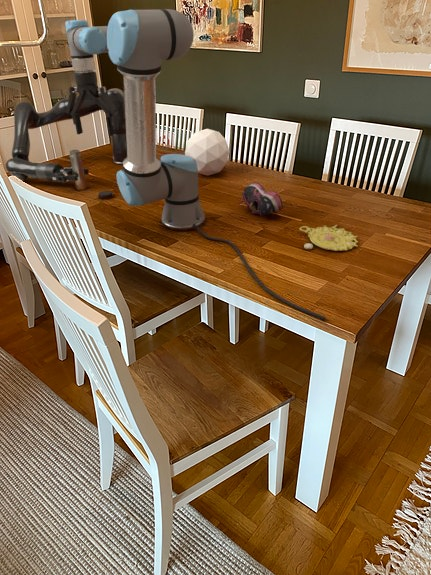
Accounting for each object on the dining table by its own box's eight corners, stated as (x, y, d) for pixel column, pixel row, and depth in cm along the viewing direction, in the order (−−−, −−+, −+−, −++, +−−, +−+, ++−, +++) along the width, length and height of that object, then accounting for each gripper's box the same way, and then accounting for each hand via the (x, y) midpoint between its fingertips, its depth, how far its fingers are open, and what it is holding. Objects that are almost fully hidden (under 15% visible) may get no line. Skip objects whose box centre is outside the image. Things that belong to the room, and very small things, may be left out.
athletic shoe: (254, 181, 170) (227, 189, 167) (283, 176, 151) (253, 185, 147) (260, 210, 173) (234, 218, 170) (290, 209, 154) (261, 219, 150)
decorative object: (343, 255, 128) (285, 234, 139) (342, 262, 130) (284, 241, 140) (372, 230, 142) (317, 213, 152) (371, 237, 143) (316, 219, 153)
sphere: (213, 191, 200) (211, 164, 181) (179, 169, 205) (173, 141, 186) (238, 162, 205) (238, 133, 186) (203, 141, 209) (200, 111, 191)
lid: (110, 193, 182) (109, 189, 181) (113, 197, 178) (113, 193, 177) (97, 196, 180) (96, 192, 179) (100, 200, 176) (100, 196, 175)
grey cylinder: (88, 186, 190) (81, 149, 182) (85, 189, 187) (78, 152, 178) (77, 186, 190) (70, 149, 182) (75, 190, 187) (67, 152, 178)
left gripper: (61, 175, 197) (93, 178, 193) (41, 186, 185) (75, 189, 181) (57, 158, 193) (90, 161, 188) (37, 168, 181) (71, 171, 177)
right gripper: (121, 70, 153) (130, 133, 165) (61, 70, 161) (73, 130, 172) (110, 73, 147) (120, 138, 159) (48, 72, 155) (61, 135, 166)
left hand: (82, 174), depth 185 cm, fingers open, 8 cm apart
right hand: (95, 134), depth 165 cm, fingers open, 13 cm apart
